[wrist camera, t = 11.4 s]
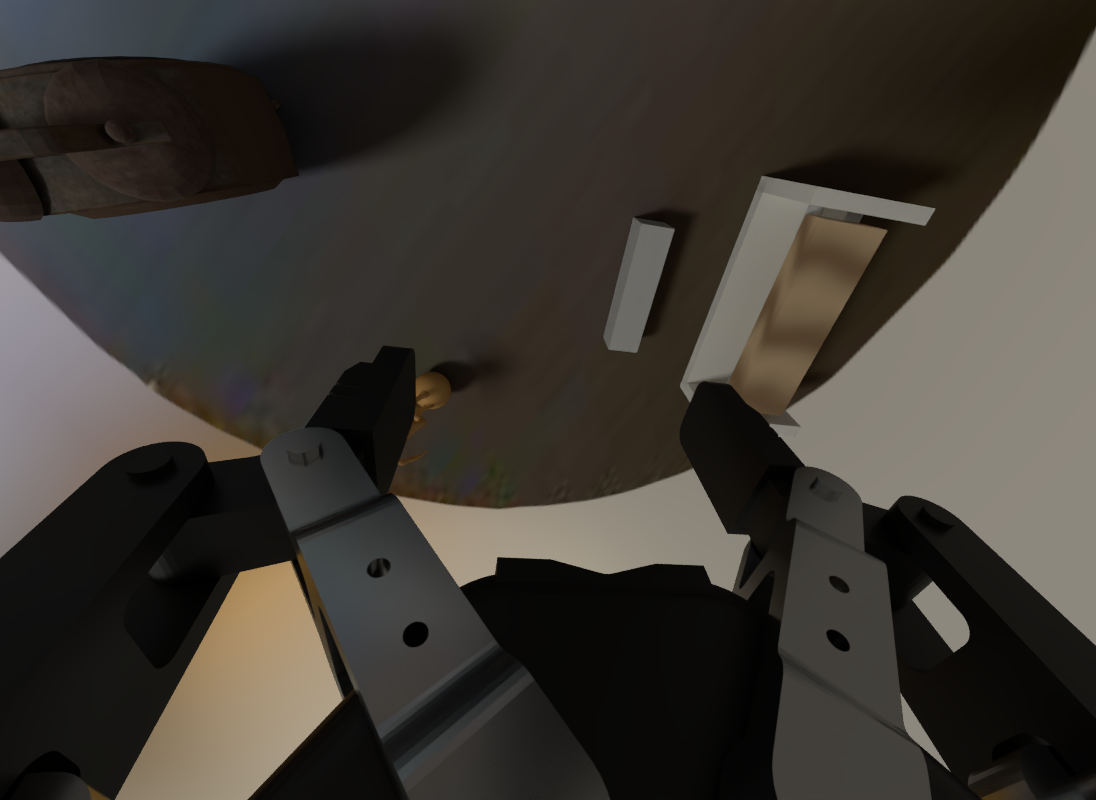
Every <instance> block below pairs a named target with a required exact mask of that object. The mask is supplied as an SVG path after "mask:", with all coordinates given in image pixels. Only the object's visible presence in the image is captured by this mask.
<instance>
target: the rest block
mask: <svg viewBox="0 0 1096 800" xmlns="http://www.w3.org/2000/svg"><path fill="white" fill-rule="evenodd" d="M674 230H675V229H674V228H672V227H671V226H669V225H668V224H666V223H664V222H659V221H653V220H647V219H641V218H634V217H633V221H632V225H631V229H630V233H629V237H628V241H627V245H626V249H625V253H624V257H623V261H622V265H621V269H620V273H619V276H618V280H617V284H616V288H615V292H614V296H613V300H612V304H611V308H610V312H609V316H608V320H607V324H606V328H605V332H604V336H603V337H604V340H605V342H606V345H607V347H608V349H609V350H618V351H626V352H635V353H637V351H638V347H639V344H640V341H641V338H642V334H643V331H644V328H645V325H646V321H647V318H648V315H649V312H650V308H651V305H652V302H653V299H654V295H655V292H656V289H657V286H658V282H659V279H660V276H661V273H662V269H663V266H664V263H665V260H666V256H667V253H668V250H669V247H670V243H671V240H672V237H673V234H674Z"/></svg>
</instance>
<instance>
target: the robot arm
mask: <svg viewBox="0 0 1096 800" xmlns="http://www.w3.org/2000/svg"><path fill="white" fill-rule="evenodd" d="M415 408H416V373H415V352H414V349H411V348H401V347H392V346H383V347H382V348H381V350H380V351H379V353H378V355H377V356H376V358H375V360H374V361H373V363H366V362H359V363H358V364H356V365H354V366H353V367H351V368H349V369H347V370H346V371H344V373H343V374H342V375H341V377H340V378H339V380H338V381H337V383H336V385H334V387H333V388H332V390H331V391H330V392H329V395H327V397H326V398H325V399H324V401H323V402H322V404H321V405H320V407H319V408H318V409H317V411H316V412H315V414H314V415H313V416H312V418H311V419H310V421H309V422H308V423H307V425H306V426H305V428H300V429H296V430H292V431H289V432H286V433H284V434H282V435H280V436H278V437H276V438H274V439H273V440H272V441H270V442H269V443H268V444H267V445H266V446H265V447H264V449H263V450H262V452H261V455H258V456H254V457H247V458H240V459H232V460H224V461H217V462H209V463H208V461H207V459H206V456H205V453H204V451H203V450H202V449H201V448H200V447H198V446H196V445H194V444H191V443H186V442H162V443H156V444H150V445H147V446H143V447H139V448H136V449H134V450H131V451H129V452H126V453H124V454H122V455H120V456H118V457H116V458H114V459H113V460H111V461H109V462H108V463H107V464H105V465H104V466H103V467H102V468H100V469H99V470H98V471H97V472H96V473H95V474H94V475H93V476H92V477H90V478H89V479H88V480H87V481H86V482H85V483H84V484H83V485H82V486H80V487H79V488H78V489H77V490H76V491H75V492H74V493H73V494H72V495H70V496H69V497H68V498H67V499H66V500H65V501H64V502H63V503H61V504H60V505H59V506H58V507H57V508H56V509H55V510H54V511H53V512H52V513H50V514H49V515H48V516H47V517H46V518H45V519H44V520H43V521H41V522H40V523H39V524H38V525H37V526H36V527H35V528H34V529H32V530H31V531H30V532H29V533H28V534H27V535H26V536H25V537H24V538H22V540H20V541H19V542H18V543H17V544H16V545H15V546H13V547H12V548H11V549H10V550H9V551H8V552H7V553H6V554H5V555H4V556H2V557H1V558H0V800H115V798H116V796H117V795H118V793H119V791H120V789H121V787H122V785H123V784H124V782H125V780H126V778H127V776H128V775H129V773H130V771H131V769H132V767H133V765H134V763H135V762H136V760H137V758H138V756H139V755H140V753H141V751H142V749H143V747H144V745H145V744H146V742H147V740H148V738H149V736H150V734H151V733H152V731H153V729H154V727H155V725H156V724H157V722H158V720H159V718H160V716H161V714H162V713H163V711H164V709H165V707H166V705H167V704H168V702H169V700H170V698H171V696H172V694H173V693H174V691H175V689H176V687H177V685H178V683H179V682H180V680H181V678H182V676H183V674H184V673H185V671H186V669H187V667H188V665H189V663H190V662H191V660H192V658H193V656H194V654H195V653H196V651H197V649H198V647H199V645H200V643H201V641H202V640H203V638H204V636H205V634H206V632H207V631H208V629H209V627H210V625H211V623H212V622H213V620H214V618H215V616H216V614H217V612H218V610H219V609H220V607H221V605H222V603H223V601H224V600H225V598H226V596H227V594H228V592H229V591H230V589H231V587H232V585H233V583H234V581H235V580H236V578H237V576H238V574H239V572H242V571H246V570H251V569H255V568H260V567H264V566H269V565H273V564H278V563H282V562H286V561H291V564H292V567H293V569H294V572H295V574H296V577H297V579H298V582H299V584H300V587H301V589H302V592H303V595H304V597H305V600H306V602H307V605H308V607H309V610H310V613H311V615H312V617H313V620H314V623H315V625H316V628H317V631H318V633H319V636H320V639H321V642H322V645H323V648H324V651H325V653H326V656H327V659H328V662H329V665H330V668H331V670H332V673H333V675H334V678H335V681H336V684H337V686H338V689H339V691H340V694H341V697H342V699H343V700H342V702H341V703H340V704H339V705H338V706H337V707H336V708H335V709H334V710H333V711H332V712H331V713H330V714H329V715H328V716H327V717H326V718H325V719H324V720H323V721H322V722H321V723H320V725H319V726H318V727H317V728H316V729H315V730H314V731H313V732H312V733H311V734H310V735H309V736H308V737H307V738H306V739H305V740H304V741H303V742H302V743H301V744H300V745H299V746H298V748H297V749H296V750H295V751H294V752H293V753H292V754H291V755H290V756H289V757H288V758H287V759H286V760H285V761H284V762H283V763H282V765H280V766H279V767H278V768H277V769H276V771H275V772H274V773H273V774H272V775H271V776H270V777H269V778H268V779H267V780H266V781H265V782H264V783H263V784H262V785H261V786H260V787H259V788H258V789H257V790H256V791H255V792H254V794H253V795H252V796H251V797H250V798H249V799H248V800H1096V646H1095V645H1094V644H1093V643H1092V642H1091V641H1090V640H1089V639H1088V638H1087V637H1086V636H1085V635H1084V634H1083V633H1082V632H1080V631H1079V630H1078V629H1077V628H1076V627H1075V626H1074V625H1073V624H1072V623H1071V622H1070V621H1069V620H1068V619H1066V618H1065V617H1064V616H1063V615H1062V614H1061V613H1060V612H1059V611H1058V610H1057V609H1056V608H1055V607H1054V606H1052V605H1051V604H1050V603H1049V602H1048V601H1047V600H1046V599H1045V598H1044V597H1043V596H1042V595H1041V594H1040V593H1039V592H1037V591H1036V590H1035V589H1034V588H1033V587H1032V586H1031V585H1030V584H1029V583H1028V582H1026V580H1025V579H1023V578H1022V577H1021V576H1020V575H1019V574H1018V573H1017V572H1016V571H1015V570H1014V569H1013V568H1012V567H1011V566H1009V565H1008V564H1007V563H1006V562H1005V561H1004V560H1003V559H1002V558H1001V557H1000V556H999V555H997V553H996V552H994V551H993V550H992V549H991V548H990V547H989V546H988V545H987V544H986V543H985V542H984V541H983V540H982V539H980V538H979V537H978V536H977V535H976V534H975V533H974V532H973V531H972V530H971V529H970V528H969V527H968V526H966V525H965V524H964V523H963V522H962V521H961V520H960V519H959V518H957V517H956V516H955V515H953V514H952V513H950V512H949V511H947V510H946V509H944V508H942V507H940V506H938V505H936V504H934V503H932V502H930V501H927V500H925V499H922V498H918V497H914V496H902V497H900V498H899V499H898V500H897V501H896V502H895V503H894V504H893V506H892V507H891V508H890V509H889V510H886V509H882V508H879V507H876V506H872V505H869V504H866V503H863V502H862V501H861V498H860V496H859V495H858V493H857V492H856V491H855V490H854V489H853V488H852V487H851V486H850V485H849V484H847V483H846V482H845V481H843V480H842V479H840V478H839V477H837V476H835V475H833V474H831V473H829V472H827V471H824V470H822V469H818V468H814V467H806V466H805V465H804V464H803V463H802V462H801V461H800V459H799V458H798V457H797V456H796V455H795V454H794V452H793V451H792V450H791V449H790V448H789V447H788V445H787V444H786V443H785V442H784V441H783V440H782V438H781V437H778V434H777V433H776V431H775V430H774V429H773V428H772V427H770V424H769V423H768V422H767V421H766V420H765V419H764V417H763V416H762V415H761V414H760V413H759V412H758V411H756V410H755V409H753V408H752V407H751V406H749V405H748V404H746V402H745V401H744V400H743V399H742V398H741V396H740V395H739V394H738V393H737V392H736V390H735V389H734V388H733V387H732V386H731V385H730V384H727V383H717V382H708V381H702V382H701V383H699V385H698V386H697V388H696V390H695V392H694V395H693V397H692V399H691V402H690V404H689V407H688V409H687V411H686V414H685V416H684V419H683V421H682V424H681V427H680V442H681V445H682V447H683V449H684V451H685V453H686V455H687V457H688V459H689V460H690V462H691V464H692V466H693V468H694V470H695V472H696V474H697V476H698V478H699V480H700V482H701V483H702V485H703V487H704V489H705V491H706V493H707V495H708V497H709V498H710V500H711V502H712V504H713V506H714V508H715V510H716V512H717V514H718V516H719V518H720V520H721V522H722V524H723V526H724V527H725V529H726V531H727V533H728V534H743V535H749V536H750V538H751V539H750V541H749V542H748V544H747V545H746V547H745V549H744V552H743V556H742V559H741V563H740V567H739V570H738V574H737V577H736V581H735V584H734V588H733V591H732V592H731V591H729V590H726V589H724V588H721V587H719V586H716V585H713V584H711V582H710V579H709V577H708V575H707V572H706V570H705V568H704V566H697V565H672V564H653V565H648V566H644V567H640V568H635V569H631V570H626V571H622V572H618V573H613V574H602V573H598V572H594V571H591V570H587V569H583V568H580V567H576V566H573V565H569V564H565V563H562V562H558V561H554V560H551V559H525V558H502V557H498V558H497V564H496V571H495V575H491V576H487V577H483V578H480V579H478V580H475V581H472V582H470V583H468V584H466V585H463V586H461V587H459V586H458V585H457V584H456V582H455V581H454V579H453V578H452V576H451V575H450V573H449V572H448V570H447V569H446V567H445V566H444V565H443V563H442V562H441V560H440V559H439V557H438V556H437V554H436V553H435V551H434V550H433V549H432V547H431V546H430V544H429V543H428V541H427V540H426V538H425V537H424V535H423V534H422V532H421V531H420V530H419V528H418V527H417V525H416V524H415V522H414V521H413V519H412V518H411V516H410V515H409V514H408V512H407V511H406V509H405V508H404V506H403V505H402V503H401V502H400V500H399V499H398V498H397V497H396V496H395V495H394V494H392V493H389V494H388V491H389V488H390V485H391V482H392V479H393V477H394V474H395V471H396V468H397V465H398V462H399V460H400V457H401V454H402V451H403V448H404V446H405V443H406V440H407V437H408V434H409V431H410V429H411V426H412V423H413V420H414V415H415ZM932 581H934V583H935V584H936V585H937V586H938V587H939V589H941V591H942V592H943V593H944V594H945V595H946V597H947V598H948V599H949V600H950V601H951V602H952V603H953V605H954V606H955V607H956V608H957V609H958V610H959V611H960V613H961V614H962V615H963V616H964V618H965V620H966V621H967V624H968V626H969V630H970V637H969V640H968V642H967V643H966V644H965V645H964V646H963V647H961V648H960V649H958V650H957V651H956V652H954V653H953V651H952V650H951V649H950V648H949V646H948V645H947V644H946V643H945V641H944V640H943V639H942V638H941V636H940V635H939V634H938V632H937V631H936V630H935V629H934V627H933V626H932V625H931V623H930V622H929V621H928V620H927V618H926V617H925V616H924V615H923V613H922V612H921V611H920V609H919V608H918V607H917V606H916V604H915V603H914V602H913V601H912V599H913V598H914V597H915V596H916V595H918V594H919V593H920V592H921V591H922V590H923V589H924V588H926V587H927V586H928V585H929V584H930V583H931V582H932ZM900 692H901V694H902V696H903V697H904V699H905V700H906V702H907V703H908V705H909V707H910V708H911V710H912V711H913V713H914V715H915V716H916V717H917V719H918V721H919V722H920V724H921V726H922V727H923V729H924V730H925V732H926V733H927V735H928V736H929V738H930V740H931V741H932V743H933V744H934V746H935V747H936V749H937V751H938V752H939V754H940V755H941V757H942V759H943V760H944V762H945V763H946V765H947V766H948V768H949V769H950V771H951V772H950V771H949V770H947V769H946V768H945V767H944V766H943V765H942V764H940V763H939V762H938V761H937V760H936V759H935V758H934V757H932V756H931V755H930V754H929V753H928V752H927V751H925V750H924V749H923V748H922V747H921V746H920V745H918V744H917V743H916V742H915V741H914V740H913V739H912V738H911V737H910V736H909V735H908V733H907V732H906V729H905V727H904V722H903V715H902V706H901V696H900Z"/></svg>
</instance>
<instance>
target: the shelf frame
mask: <svg viewBox="0 0 1096 800" xmlns="http://www.w3.org/2000/svg"><path fill="white" fill-rule="evenodd" d="M934 210H935V209H934V208H929V207H924V206H918V205H913V204H908V203H903V202H897V201H892V200H887V199H882V198H876V197H871V196H866V195H860V194H855V193H850V192H845V191H839V190H834V189H829V188H824V187H818V186H813V185H808V184H803V183H797V182H792V181H787V180H782V179H776V178H771V177H766V176H762V177H761V180H760V182H759V185H758V188H757V190H756V193H755V195H754V198H753V200H752V203H751V205H750V208H749V211H748V213H747V216H746V218H745V221H744V223H743V226H742V229H741V231H740V234H739V236H738V239H737V241H736V244H735V246H734V249H733V252H732V254H731V257H730V259H729V262H728V264H727V267H726V269H725V272H724V275H723V277H722V280H721V282H720V285H719V287H718V290H717V292H716V295H715V298H714V300H713V303H712V305H711V308H710V310H709V313H708V315H707V318H706V321H705V323H704V326H703V328H702V331H701V333H700V336H699V339H698V341H697V344H696V346H695V349H694V351H693V354H692V356H691V359H690V362H689V364H688V367H687V369H686V372H685V374H684V377H683V379H682V382H681V385H680V387H681V389H682V390H683V392H684V394H685V395H686V397H687V398H688V400H689V401H690V402H691V399H692V397H693V395H694V392H695V390H696V388H697V386H698V385H699V383H701V382H702V381H708V382H717V383H727V384H728V382H729V380H730V377H731V375H732V373H733V371H734V369H735V367H736V364H737V362H738V360H739V358H740V356H741V353H742V351H743V349H744V347H745V345H746V343H747V340H748V338H749V336H750V334H751V332H752V330H753V327H754V325H755V323H756V321H757V319H758V317H759V314H760V312H761V310H762V308H763V306H764V304H765V301H766V299H767V297H768V295H769V293H770V291H771V288H772V286H773V284H774V282H775V280H776V278H777V275H778V273H779V271H780V269H781V267H782V265H783V262H784V260H785V258H786V256H787V254H788V252H789V249H790V247H791V245H792V243H793V241H794V239H795V236H796V234H797V232H798V230H799V228H800V226H801V223H802V221H803V219H804V217H805V215H806V214H810V215H816V216H821V217H827V218H833V219H838V220H844V221H850V222H855V223H859V222H860V220H861V218H862V217H863V215H864V214H865V215H870V216H876V217H881V218H887V219H892V220H898V221H903V222H909V223H914V224H919V225H926V223H927V222H928V220H929V219H930V217H931V215H932V214H933V212H934ZM761 415H762V416H763V417H764V419H765V420H766V421H767V422H768V423H769V424H770V427H772V428H773V429H774V430H775V431H776V433H777V434H780V435H791V436H795V435H796V434H797V432H798V431H799V429H800V425H798V423H797V422H796V421H795V420H794V419H793V418H792V417H791V416H790V415H789V414H788V413H787V412H786V411H785V410H784V412H783V414H782V416H780V415H770V414H761Z"/></svg>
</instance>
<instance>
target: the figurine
mask: <svg viewBox="0 0 1096 800" xmlns="http://www.w3.org/2000/svg"><path fill="white" fill-rule="evenodd" d="M450 395H451V386H450V383H449V381H448V380H447V378H446V377H445V376H443V375H442V374H440V373H437V372H426V373H424V374H422V375H420V376H419V377H418V378H417V379H416V403H418V404H420V405H421V406H423V407H422V408H421V409H419V405H418V404H416V408H415V415H414V419H415V421H413V423H412V426H411V429H410V431H409V434H408V437H407V439H409V437H410V436H411V435H412V434H413V433H414V432H416V431H417V430H418V429H420V428H421V427H423V426H425V425H426V421H425V419H424V418H423V417H422V416H421V415H420V414H422V413H423V412H424V411H425V410H427V409H436V408H439V407H441V406H443V405H444V404H446V403H447V401H448V400H449V398H450ZM426 452H427V450H426V451H425V452H423V453H422V454H421V455H418V456H413V457H410V458H407V459H405V460H402V459H401V458H400V460H399V462H398V464H399V465H405V464H407V463H409V462H412V461H415V460H417V459H419V458H421V457H422V456H423V455H424V454H425V453H426Z"/></svg>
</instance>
